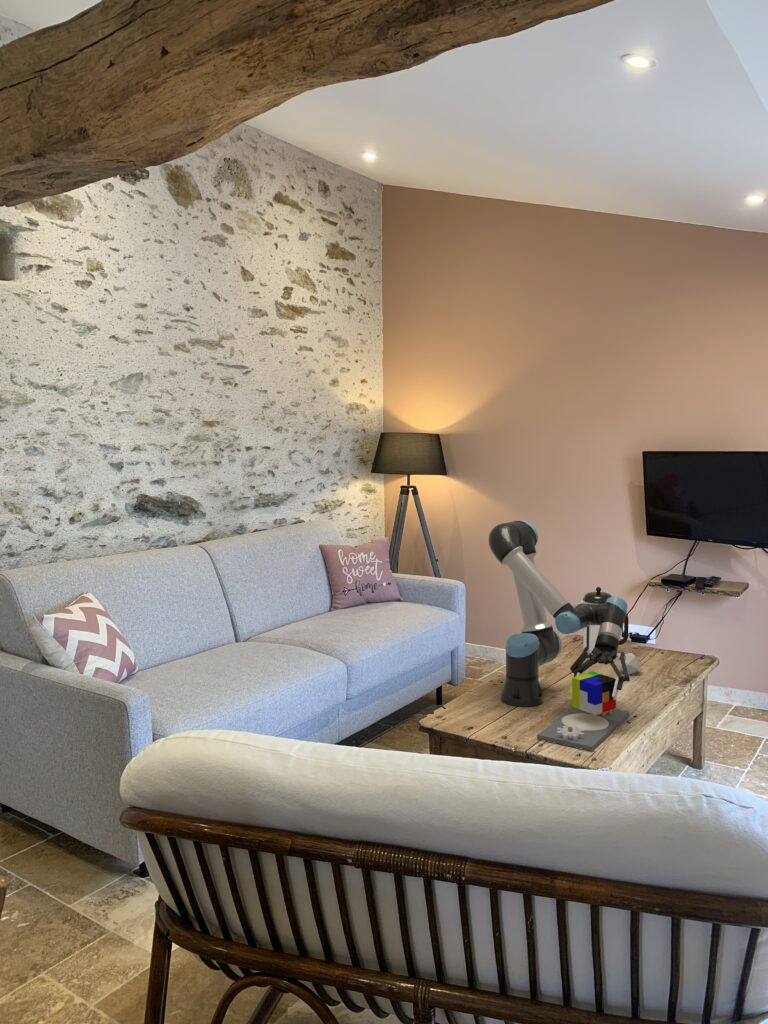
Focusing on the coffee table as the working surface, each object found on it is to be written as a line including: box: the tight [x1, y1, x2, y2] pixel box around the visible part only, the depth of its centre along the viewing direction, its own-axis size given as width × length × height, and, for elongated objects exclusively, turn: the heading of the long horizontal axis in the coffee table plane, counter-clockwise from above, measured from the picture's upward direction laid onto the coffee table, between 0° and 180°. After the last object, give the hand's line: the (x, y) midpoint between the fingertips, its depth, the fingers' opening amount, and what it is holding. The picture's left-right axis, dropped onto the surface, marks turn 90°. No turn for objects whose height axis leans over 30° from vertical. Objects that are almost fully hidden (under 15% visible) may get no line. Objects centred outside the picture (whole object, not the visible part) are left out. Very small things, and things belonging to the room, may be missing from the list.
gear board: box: [536, 707, 630, 752], centre depth 270 cm, size 36×18×4 cm, turn 146°
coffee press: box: [579, 586, 629, 659], centre depth 352 cm, size 17×16×30 cm
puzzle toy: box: [571, 671, 617, 715], centre depth 271 cm, size 10×10×10 cm
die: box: [617, 652, 642, 676], centre depth 327 cm, size 8×9×10 cm
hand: (594, 694), depth 270 cm, fingers closed on puzzle toy, 12 cm apart
